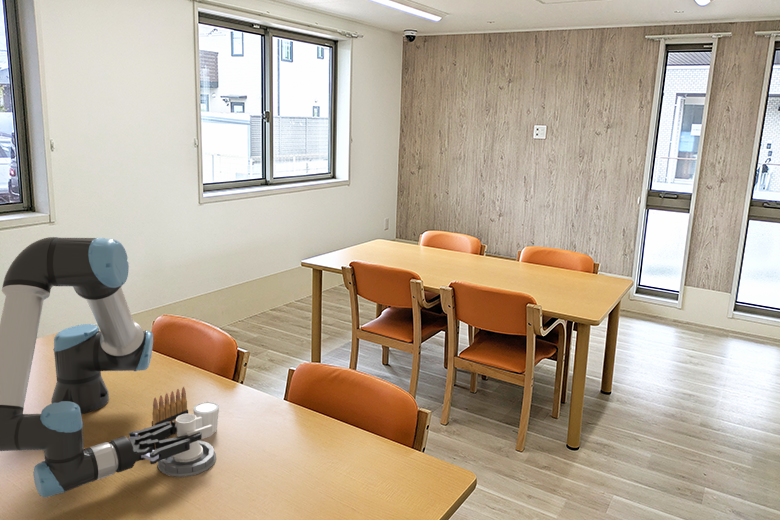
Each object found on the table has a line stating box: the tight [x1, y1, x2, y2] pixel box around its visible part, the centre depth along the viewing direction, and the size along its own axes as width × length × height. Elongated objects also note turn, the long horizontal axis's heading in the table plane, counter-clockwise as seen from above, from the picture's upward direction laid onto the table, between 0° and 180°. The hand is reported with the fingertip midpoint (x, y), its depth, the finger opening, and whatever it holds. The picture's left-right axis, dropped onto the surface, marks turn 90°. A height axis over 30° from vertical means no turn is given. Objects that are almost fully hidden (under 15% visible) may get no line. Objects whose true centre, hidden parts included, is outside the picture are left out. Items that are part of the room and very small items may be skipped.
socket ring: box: [157, 440, 217, 478], centre depth 152 cm, size 14×14×2 cm
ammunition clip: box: [151, 386, 189, 427], centre depth 164 cm, size 11×2×12 cm, turn 145°
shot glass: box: [192, 401, 220, 435], centre depth 166 cm, size 7×7×7 cm
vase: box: [171, 413, 203, 462], centre depth 150 cm, size 8×8×10 cm
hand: (206, 425), depth 154 cm, fingers open, 5 cm apart
